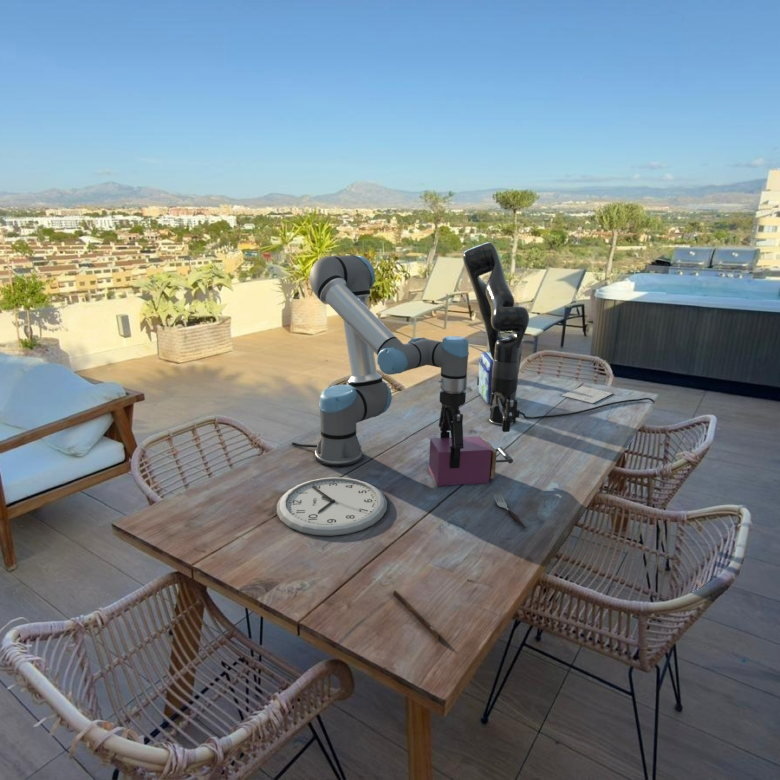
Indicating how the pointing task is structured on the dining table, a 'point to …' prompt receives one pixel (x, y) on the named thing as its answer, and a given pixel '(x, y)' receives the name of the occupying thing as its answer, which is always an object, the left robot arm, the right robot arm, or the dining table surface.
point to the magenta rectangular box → (471, 462)
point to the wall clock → (331, 506)
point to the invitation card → (587, 394)
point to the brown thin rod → (416, 614)
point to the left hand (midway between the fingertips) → (449, 459)
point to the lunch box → (485, 376)
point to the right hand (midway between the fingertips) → (500, 426)
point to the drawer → (493, 458)
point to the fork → (504, 505)
